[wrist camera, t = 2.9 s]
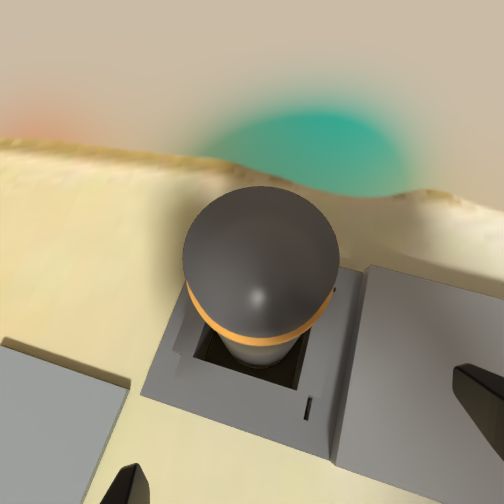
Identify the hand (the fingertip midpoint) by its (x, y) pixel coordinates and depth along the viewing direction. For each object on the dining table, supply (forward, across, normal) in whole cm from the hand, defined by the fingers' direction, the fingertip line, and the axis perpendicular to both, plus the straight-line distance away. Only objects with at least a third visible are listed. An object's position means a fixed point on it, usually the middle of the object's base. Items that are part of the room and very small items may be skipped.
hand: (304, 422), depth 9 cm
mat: (+9, +15, +7) cm, 19 cm away
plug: (+11, 0, +5) cm, 12 cm away
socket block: (+9, -5, +7) cm, 13 cm away
